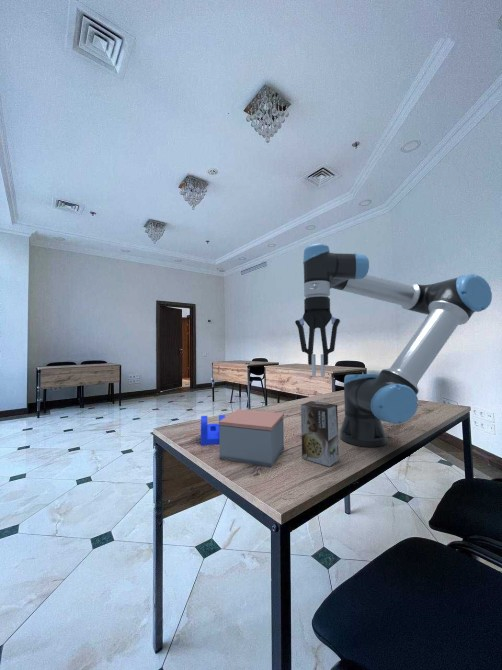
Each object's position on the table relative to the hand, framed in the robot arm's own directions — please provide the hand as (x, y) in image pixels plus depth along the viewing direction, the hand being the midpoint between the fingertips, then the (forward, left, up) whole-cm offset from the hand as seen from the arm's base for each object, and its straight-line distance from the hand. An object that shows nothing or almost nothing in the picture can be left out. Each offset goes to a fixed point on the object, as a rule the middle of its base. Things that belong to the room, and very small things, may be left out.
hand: (318, 376), depth 82 cm
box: (+20, +3, -24) cm, 32 cm away
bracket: (+40, -8, -25) cm, 47 cm away
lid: (+20, +3, -14) cm, 25 cm away
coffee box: (0, 0, -25) cm, 25 cm away
